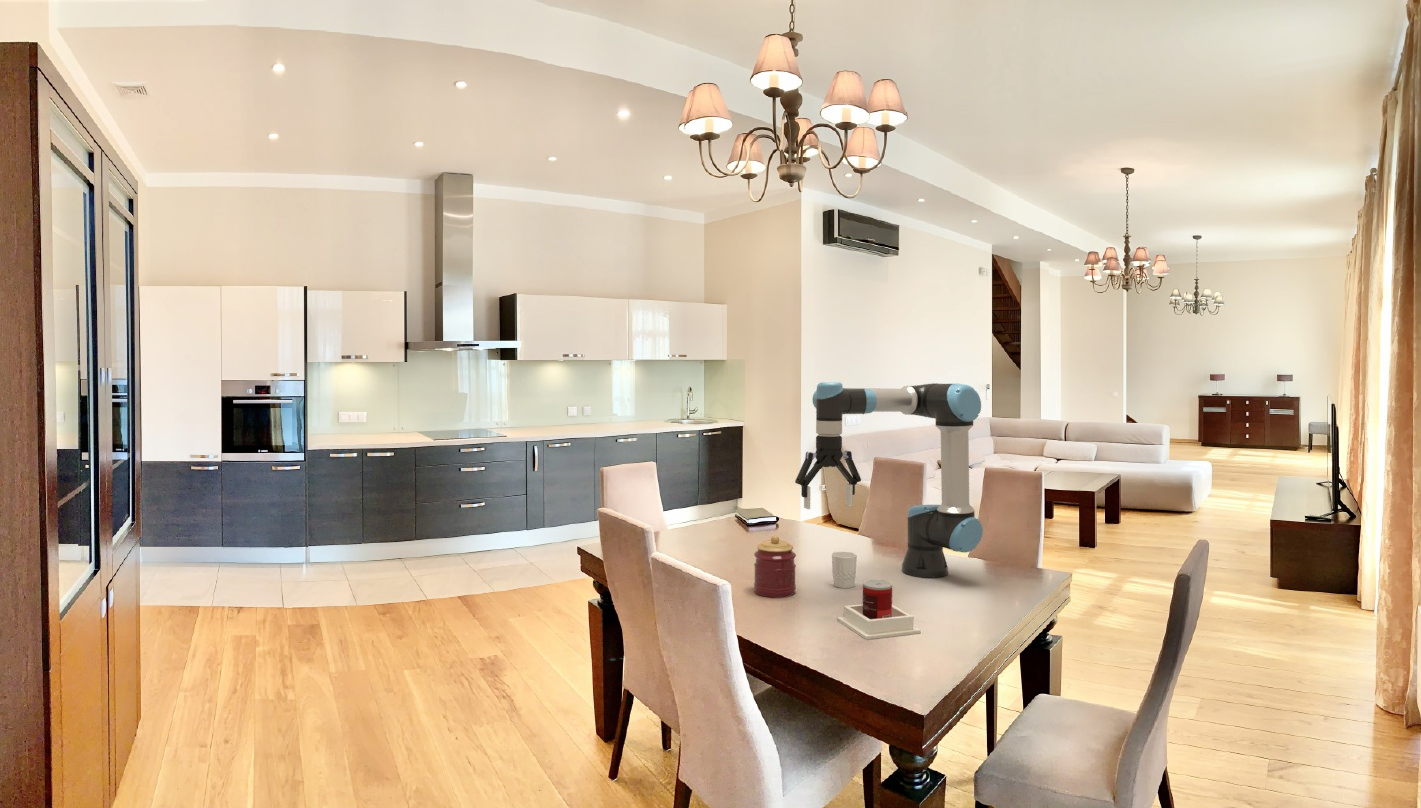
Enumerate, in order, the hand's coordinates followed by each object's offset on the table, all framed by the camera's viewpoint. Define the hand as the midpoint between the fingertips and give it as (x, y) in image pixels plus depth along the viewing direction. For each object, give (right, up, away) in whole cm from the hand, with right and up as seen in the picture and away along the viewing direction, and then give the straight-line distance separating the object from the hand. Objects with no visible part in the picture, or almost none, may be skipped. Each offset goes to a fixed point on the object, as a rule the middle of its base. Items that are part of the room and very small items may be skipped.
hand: (828, 507), depth 223 cm
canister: (-15, -28, +13) cm, 35 cm away
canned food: (+10, -29, -19) cm, 36 cm away
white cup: (+8, -28, +21) cm, 36 cm away
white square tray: (+11, -30, -18) cm, 36 cm away
